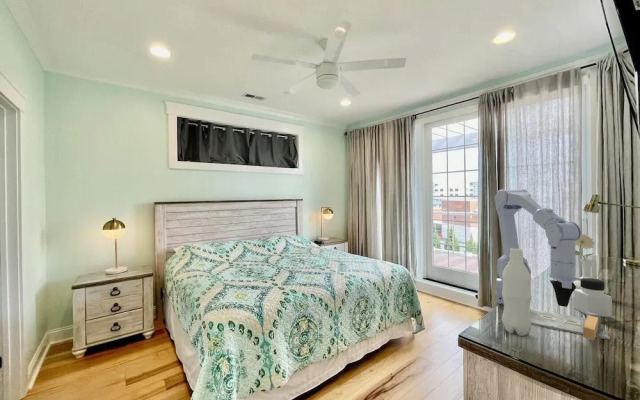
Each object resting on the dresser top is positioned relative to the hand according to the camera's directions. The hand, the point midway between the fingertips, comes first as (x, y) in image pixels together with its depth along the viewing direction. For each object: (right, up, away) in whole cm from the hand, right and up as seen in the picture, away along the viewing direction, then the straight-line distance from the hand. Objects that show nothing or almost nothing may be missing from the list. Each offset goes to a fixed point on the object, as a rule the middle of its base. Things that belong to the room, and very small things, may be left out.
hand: (562, 305), depth 84 cm
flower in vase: (+43, -8, +37) cm, 58 cm away
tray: (+5, -7, +5) cm, 10 cm away
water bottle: (-15, -8, -2) cm, 17 cm away
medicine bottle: (+22, -8, +13) cm, 27 cm away
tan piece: (+6, -6, -3) cm, 9 cm away
